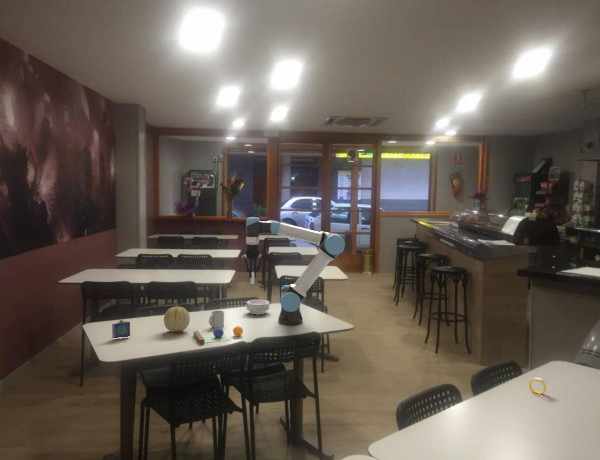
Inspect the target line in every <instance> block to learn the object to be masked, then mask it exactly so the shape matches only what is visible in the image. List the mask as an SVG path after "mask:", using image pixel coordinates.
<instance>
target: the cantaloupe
mask: <svg viewBox="0 0 600 460" xmlns="http://www.w3.org/2000/svg"><path fill="white" fill-rule="evenodd" d="M190 318H191V317H190V313H189V311H188V310H187V309H186V308H185V307H183V306H178V305H176V304H174V306H173V307H170V308H168V310H166V311H165V313H164V316H163V323H164V324H163V325H164V327H165V328H166V329H167V330H168V331H169V332H171V333H176V334H177V333H180V332H184V330H186V329H187V328H188V326H189V325H190V321H191V319H190Z"/></svg>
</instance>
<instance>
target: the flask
mask: <svg viewBox="0 0 600 460" xmlns="http://www.w3.org/2000/svg"><path fill="white" fill-rule="evenodd" d="M111 331H112V333H111V335H112V336H111V337H112V338H118V337H128V336H130V337H131V322H130V321H128V320H123V319H122V318H120V319H119V322H113V323H112V325H111ZM112 338H111V339H112Z"/></svg>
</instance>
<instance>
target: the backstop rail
mask: <svg viewBox="0 0 600 460" xmlns="http://www.w3.org/2000/svg"><path fill="white" fill-rule="evenodd" d="M193 337H194V338H195V340H196V341H197V343H198V345H201V346H202V345H205V344H206V343H205V340H204V338H203V337H202V334H201V333H200V331H199V330H193Z"/></svg>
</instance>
